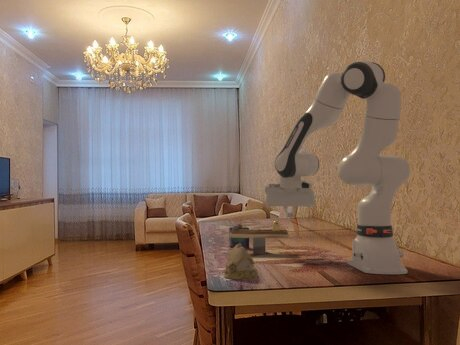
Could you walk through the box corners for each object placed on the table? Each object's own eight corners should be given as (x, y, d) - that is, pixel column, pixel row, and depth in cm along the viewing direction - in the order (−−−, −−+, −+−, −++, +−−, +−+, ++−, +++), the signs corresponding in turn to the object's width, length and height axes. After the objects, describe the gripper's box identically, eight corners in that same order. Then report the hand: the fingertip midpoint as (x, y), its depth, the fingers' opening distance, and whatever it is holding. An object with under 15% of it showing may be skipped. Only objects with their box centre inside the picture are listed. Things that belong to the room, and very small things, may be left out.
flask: (228, 247, 182) (228, 223, 182) (230, 246, 185) (230, 222, 185) (248, 248, 179) (248, 223, 179) (250, 247, 182) (250, 223, 182)
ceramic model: (263, 278, 125) (263, 246, 125) (227, 281, 122) (227, 247, 122) (249, 269, 138) (249, 239, 138) (217, 270, 135) (217, 240, 136)
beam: (288, 254, 164) (288, 227, 164) (229, 253, 166) (229, 226, 166) (287, 251, 170) (287, 225, 170) (231, 250, 172) (231, 224, 172)
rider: (280, 233, 166) (279, 221, 166) (272, 233, 166) (272, 221, 166) (279, 232, 169) (279, 220, 169) (272, 232, 169) (272, 220, 169)
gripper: (265, 184, 165) (264, 217, 165) (315, 184, 164) (315, 218, 164) (264, 183, 171) (264, 216, 172) (313, 183, 170) (313, 216, 170)
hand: (289, 217), depth 168 cm, fingers closed
